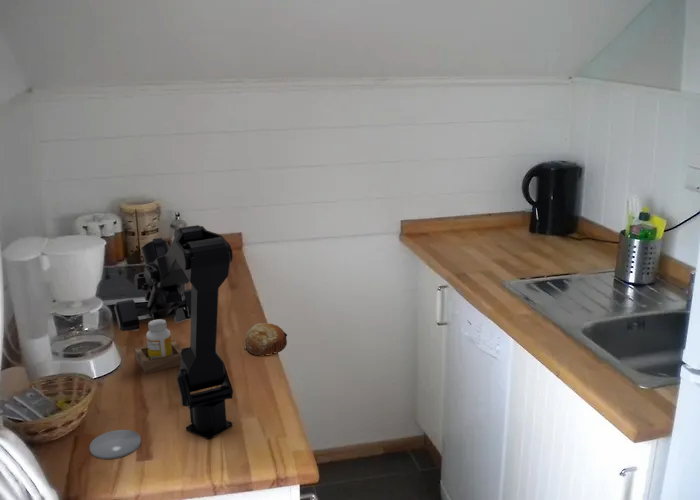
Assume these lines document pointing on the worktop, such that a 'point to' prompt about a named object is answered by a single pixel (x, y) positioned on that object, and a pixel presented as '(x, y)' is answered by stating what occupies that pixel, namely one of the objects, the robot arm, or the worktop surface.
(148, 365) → the rectangular wooden frame
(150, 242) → the robot arm
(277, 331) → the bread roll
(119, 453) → the slate coaster
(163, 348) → the supplement bottle
